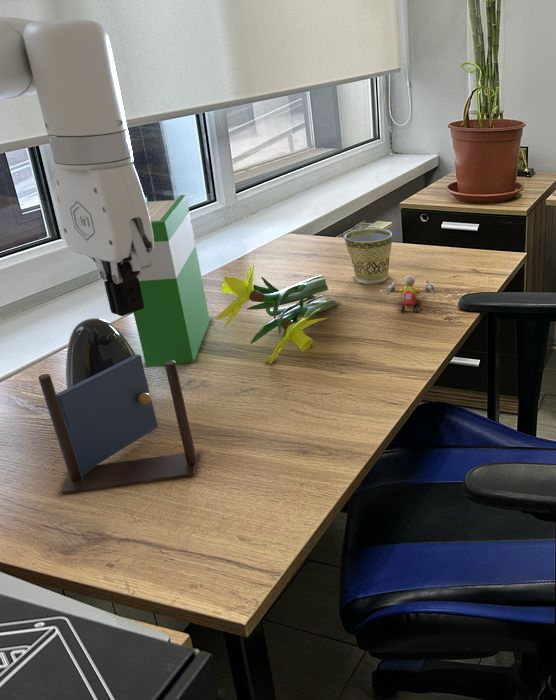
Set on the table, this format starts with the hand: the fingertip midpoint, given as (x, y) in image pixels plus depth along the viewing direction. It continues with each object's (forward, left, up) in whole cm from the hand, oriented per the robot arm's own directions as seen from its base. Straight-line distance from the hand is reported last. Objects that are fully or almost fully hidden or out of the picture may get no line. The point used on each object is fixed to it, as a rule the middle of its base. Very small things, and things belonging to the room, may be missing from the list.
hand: (128, 310), depth 82 cm
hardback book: (-3, +38, -21) cm, 43 cm away
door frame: (-3, -2, -21) cm, 21 cm away
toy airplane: (+39, +45, -21) cm, 63 cm away
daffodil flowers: (+16, +36, -21) cm, 44 cm away
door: (-5, +2, -20) cm, 21 cm away
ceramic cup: (+34, +63, -21) cm, 74 cm away
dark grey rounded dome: (-8, +13, -21) cm, 27 cm away
